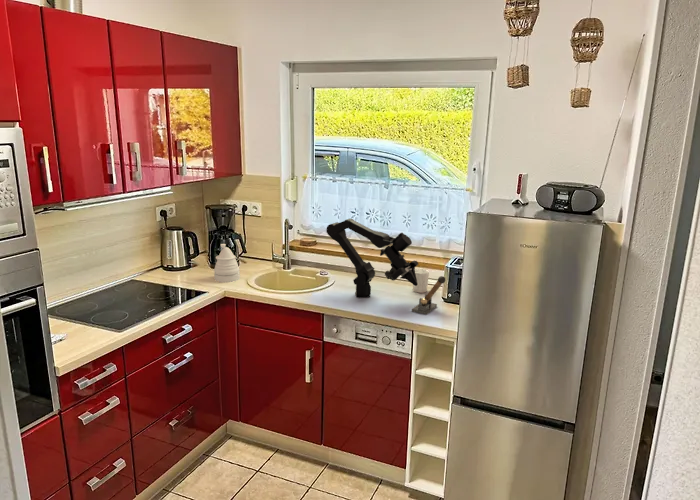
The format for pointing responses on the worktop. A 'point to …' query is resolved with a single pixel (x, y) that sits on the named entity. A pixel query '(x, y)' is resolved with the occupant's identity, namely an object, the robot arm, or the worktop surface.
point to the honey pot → (226, 266)
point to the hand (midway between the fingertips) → (416, 285)
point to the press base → (424, 306)
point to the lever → (435, 288)
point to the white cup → (421, 280)
